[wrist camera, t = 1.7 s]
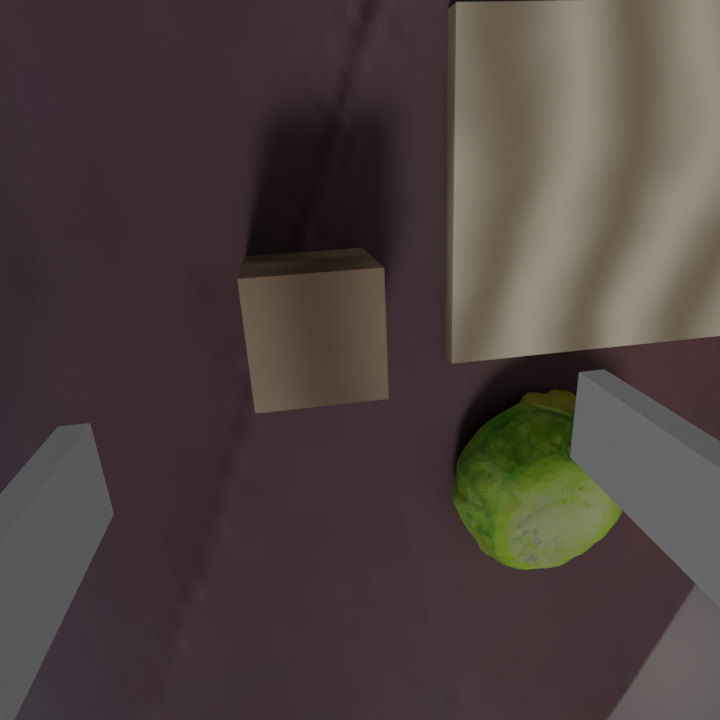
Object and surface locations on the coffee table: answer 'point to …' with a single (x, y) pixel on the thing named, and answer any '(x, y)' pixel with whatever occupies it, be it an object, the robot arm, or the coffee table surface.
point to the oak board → (581, 175)
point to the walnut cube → (314, 328)
